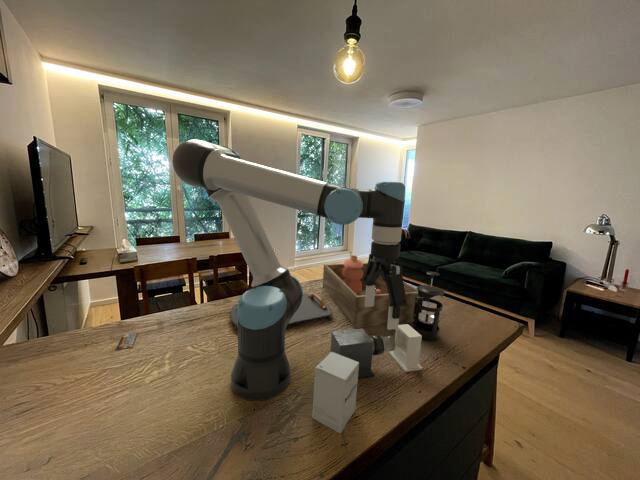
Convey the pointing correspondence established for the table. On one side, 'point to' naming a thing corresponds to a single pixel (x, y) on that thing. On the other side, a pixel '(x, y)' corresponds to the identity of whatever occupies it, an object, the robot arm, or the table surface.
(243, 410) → the table surface
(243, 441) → the table surface
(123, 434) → the table surface
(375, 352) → the rod
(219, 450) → the table surface
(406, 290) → the box
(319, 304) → the serving board
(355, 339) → the dark grey block
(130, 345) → the chocolate bar
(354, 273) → the ceramic vessels
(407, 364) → the socket
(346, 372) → the supplement box
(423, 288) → the french press
